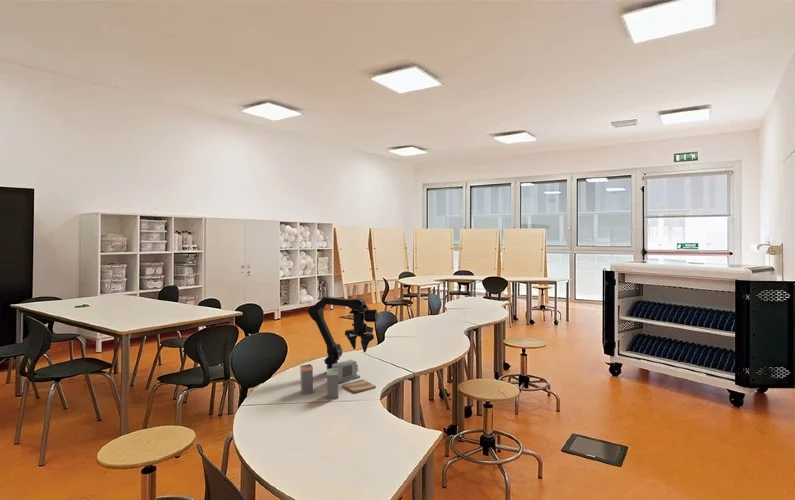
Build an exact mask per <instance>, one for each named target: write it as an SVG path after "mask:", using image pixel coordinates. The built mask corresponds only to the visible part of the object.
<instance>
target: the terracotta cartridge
mask: <svg viewBox="0 0 795 500" xmlns="http://www.w3.org/2000/svg"><path fill="white" fill-rule="evenodd" d="M313 367H314V366H313V365H312V364H311V363H309V364H302V365H299V370H300V372H299V373H300V392H301V394H302V395H308V394H313V393H314V373H313V371H314V368H313Z"/></svg>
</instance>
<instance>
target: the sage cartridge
mask: <svg viewBox="0 0 795 500" xmlns="http://www.w3.org/2000/svg"><path fill="white" fill-rule="evenodd" d="M325 372H326V373H327V374H326V373H325V374H326V390H327V391H326V392H327V393H326V394H327V400H332V399H339V384H338V368H332V369H327V368H326V371H325Z"/></svg>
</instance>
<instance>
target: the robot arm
mask: <svg viewBox="0 0 795 500" xmlns="http://www.w3.org/2000/svg"><path fill="white" fill-rule="evenodd" d="M328 305H329V306H339V307H347V308H349V309H351V310H350V311H349V314H352V317H353V318H352V320H353V322H352V323H351V326H353V328H350V329H346V330H345V331H344V336H346V338H347V340H348V341H349V343H350V346H351V347H352V349H353V350H356V346H357V345H356V344H357V338H358V337H360V339H361V340H360V344H361V347H362V348H361V349H362V351H363V353H366V352H367V349H368V347H369V344H370V342H371V341H373V340H374V339H375V335H374V334H373V333H374V332H373V331H374V327H372V326H368V324H367V323H378V321H379V313H378V309H377V308H376V309H375V308H374V309H370V308H369V307H368V306H367V304H366V302H365V299H364V298H362V297H352V298H344V297H336V296H335V297H334V296H328V295H326V296H323V297H321V299H320V300H318V301H317V302H316V303H315V304H313V305H311V306H309V307H308V309H307V314H308V315H309V317H310V318H311V319H312V321H314V322H315V324H316V326H317V328H318V330H319V333H320V334H321V338H322V339H323V341H324V343H325V346H326V353H327V356H326V357H325V359H324V361H323V362H324V365H326V370H327V369H332V364H336V363H339V360H340V358H342V355H343V350H344V349H343V348H342V347H341V346H342V345H341V343H336V342H335V339H334V338H333V336H332V333H331V331H330V329H329V327H328V324H327V322H326V320H325V316H324V315H325V314H324V308H325V307H327V306H328ZM365 322H366V323H365ZM324 373H325V374H326V375H327V373H326V371H324Z"/></svg>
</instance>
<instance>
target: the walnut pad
mask: <svg viewBox="0 0 795 500" xmlns="http://www.w3.org/2000/svg"><path fill="white" fill-rule="evenodd" d="M341 387H342V388H344V389H346V390H348V391H349V392H351V393H353V394H359V393H362V392H366V391H369V390H370V391H371V390H373V389H376V388H377V386H376V385H374V384H373V383H371V382H369V381H368V380H365V379H359V380H356V381H355V380H354V381H352V382H347V383H342V385H341Z"/></svg>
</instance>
